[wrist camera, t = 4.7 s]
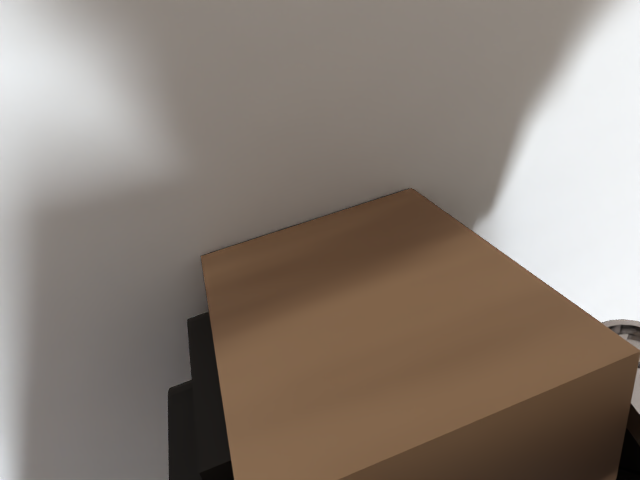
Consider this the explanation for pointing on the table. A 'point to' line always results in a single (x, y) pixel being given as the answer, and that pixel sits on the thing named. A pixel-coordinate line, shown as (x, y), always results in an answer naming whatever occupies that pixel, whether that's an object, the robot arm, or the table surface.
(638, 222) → the table surface
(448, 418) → the walnut block
